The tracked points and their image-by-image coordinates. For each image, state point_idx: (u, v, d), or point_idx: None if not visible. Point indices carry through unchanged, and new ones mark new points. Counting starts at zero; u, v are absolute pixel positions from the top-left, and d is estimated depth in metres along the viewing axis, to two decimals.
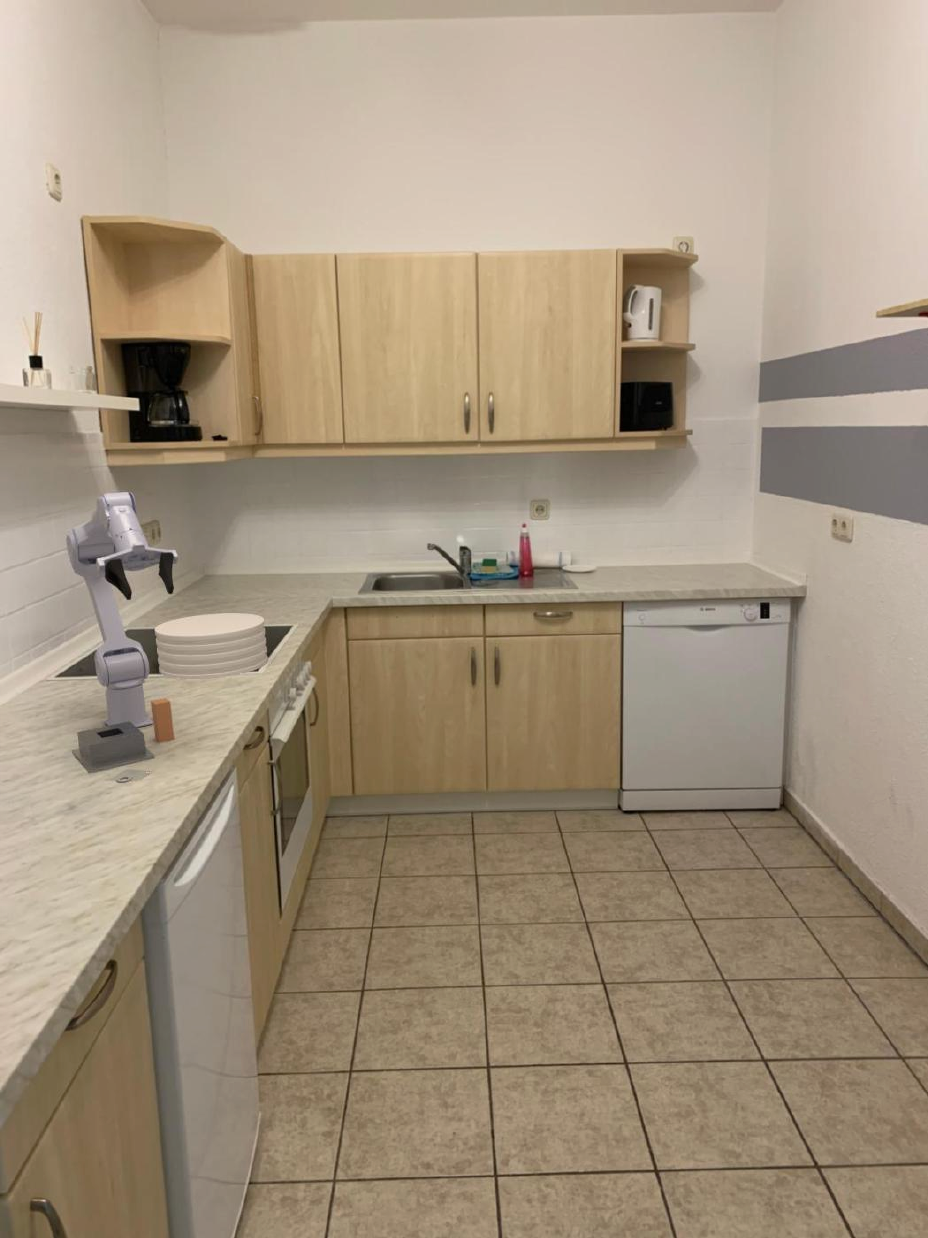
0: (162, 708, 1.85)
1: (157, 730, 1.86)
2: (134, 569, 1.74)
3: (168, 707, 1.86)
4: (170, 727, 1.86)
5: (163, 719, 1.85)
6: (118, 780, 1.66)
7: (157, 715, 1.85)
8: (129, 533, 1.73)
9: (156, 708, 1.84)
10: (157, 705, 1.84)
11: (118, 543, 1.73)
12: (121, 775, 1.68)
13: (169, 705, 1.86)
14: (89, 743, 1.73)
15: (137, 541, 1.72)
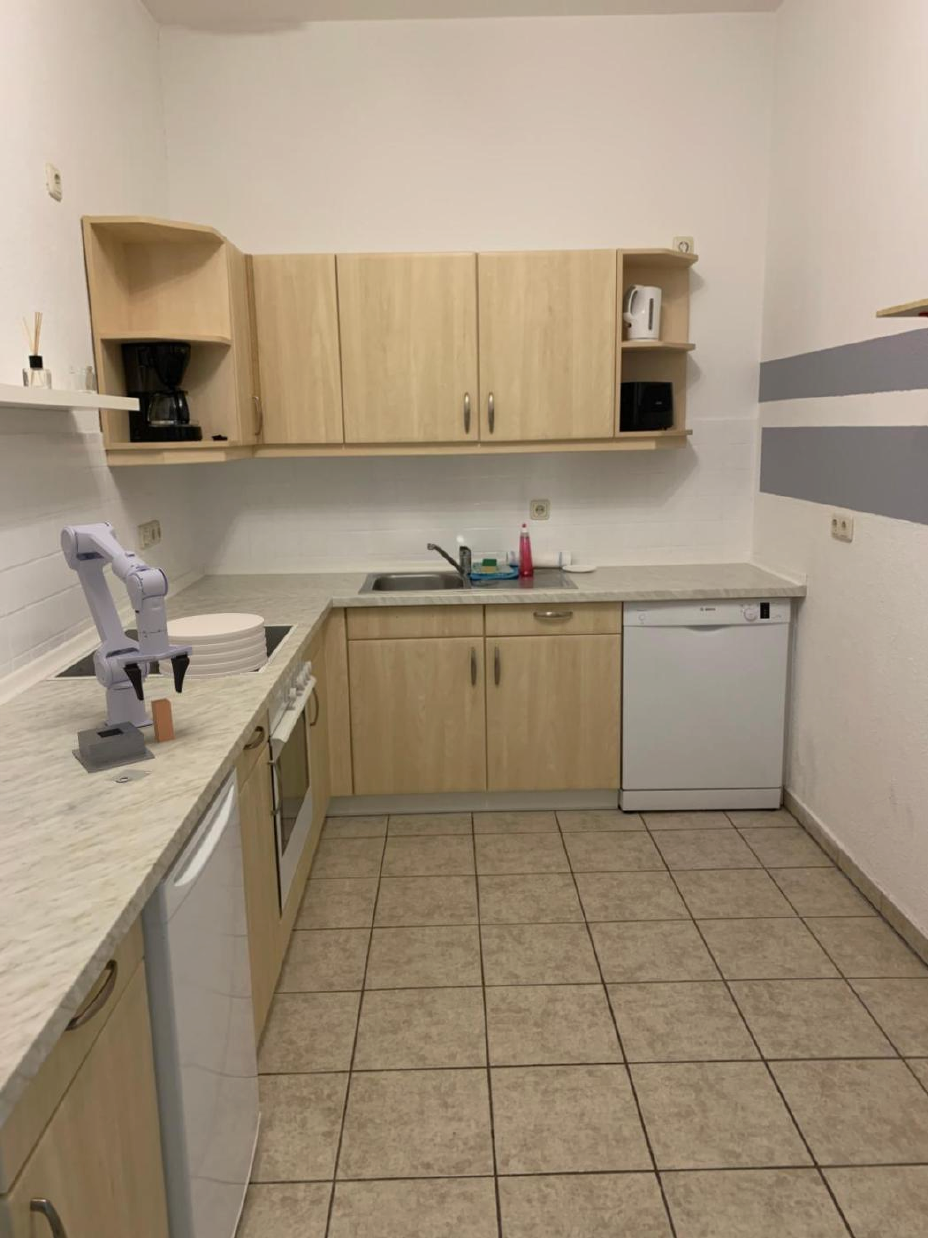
0: (162, 708, 1.85)
1: (157, 730, 1.86)
2: None
3: (168, 707, 1.86)
4: (170, 727, 1.86)
5: (163, 719, 1.85)
6: (118, 780, 1.66)
7: (157, 715, 1.85)
8: (154, 636, 1.81)
9: (156, 708, 1.84)
10: (157, 705, 1.84)
11: (141, 640, 1.81)
12: (121, 775, 1.68)
13: (169, 705, 1.86)
14: (89, 743, 1.73)
15: (160, 646, 1.81)
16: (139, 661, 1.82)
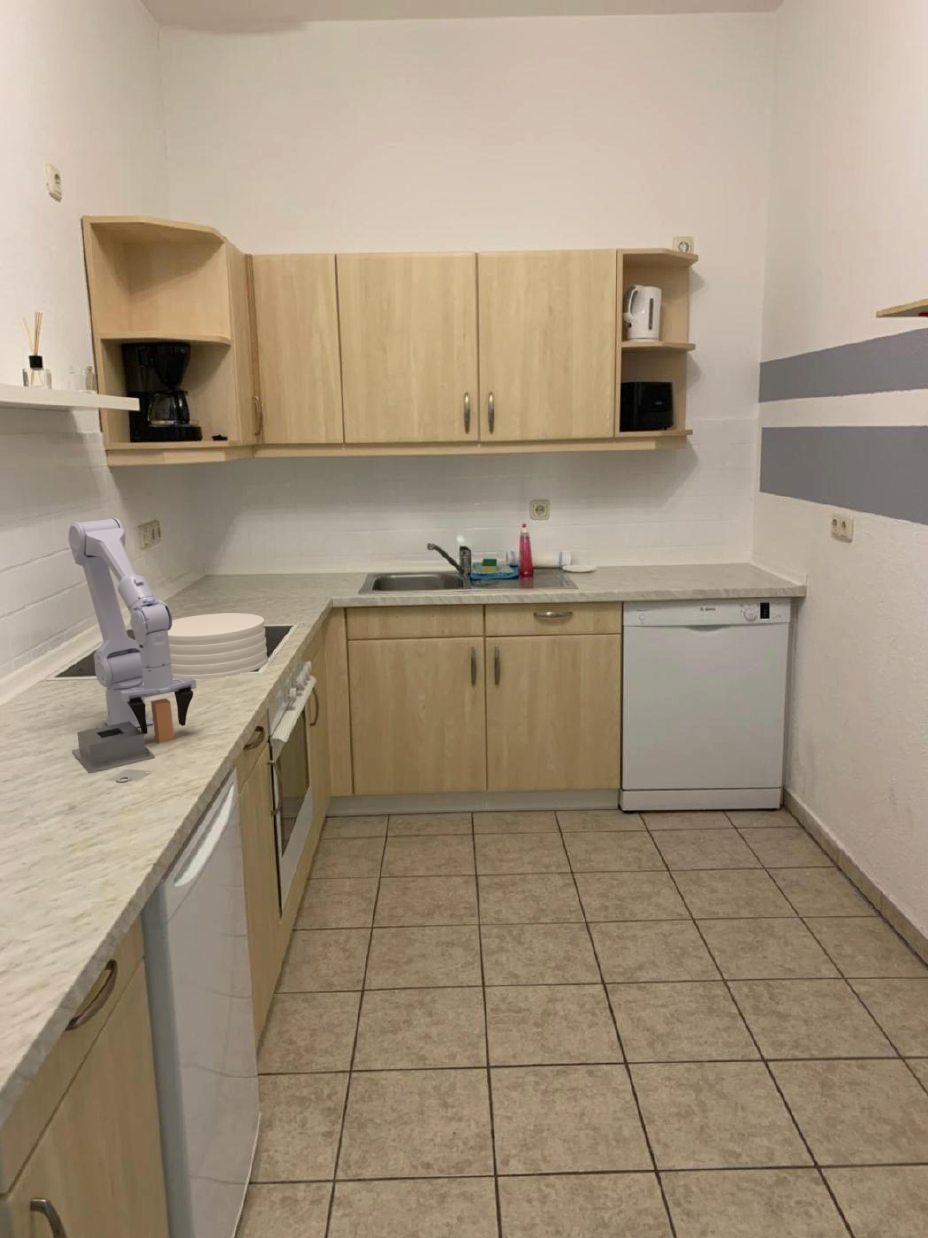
0: (162, 708, 1.85)
1: (157, 730, 1.86)
2: None
3: (168, 707, 1.86)
4: (170, 727, 1.86)
5: (163, 719, 1.85)
6: (118, 780, 1.66)
7: (157, 715, 1.85)
8: (158, 670, 1.82)
9: (156, 708, 1.84)
10: (157, 705, 1.84)
11: (145, 674, 1.82)
12: (120, 775, 1.68)
13: (169, 705, 1.86)
14: (89, 743, 1.73)
15: (164, 680, 1.83)
16: (143, 695, 1.84)
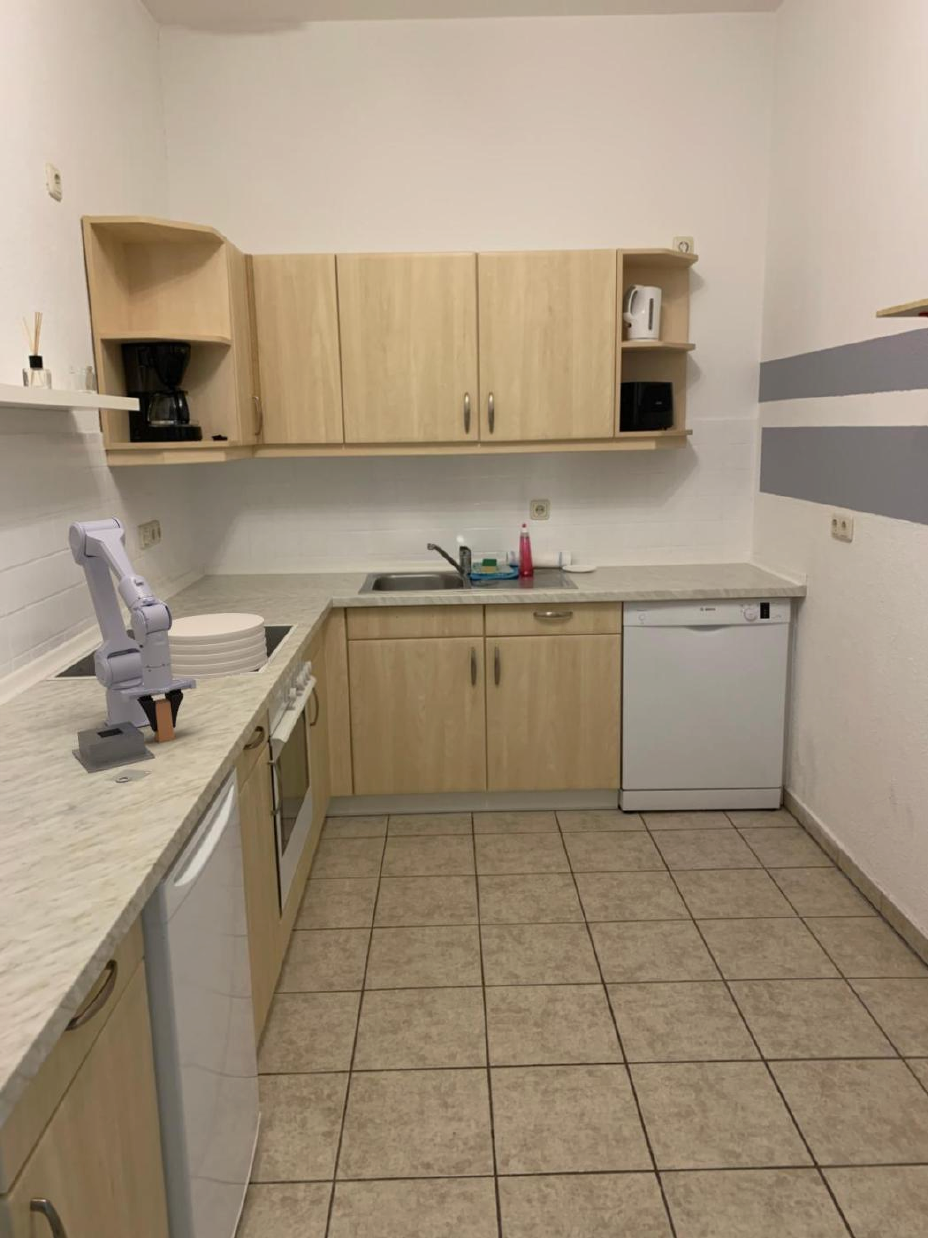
0: (162, 708, 1.85)
1: None
2: None
3: (168, 707, 1.86)
4: (170, 727, 1.86)
5: (163, 719, 1.85)
6: (118, 780, 1.66)
7: (157, 715, 1.85)
8: (158, 670, 1.82)
9: (156, 708, 1.84)
10: (157, 705, 1.84)
11: (145, 674, 1.82)
12: (120, 775, 1.68)
13: (169, 705, 1.86)
14: (89, 743, 1.73)
15: (164, 680, 1.83)
16: (143, 695, 1.84)
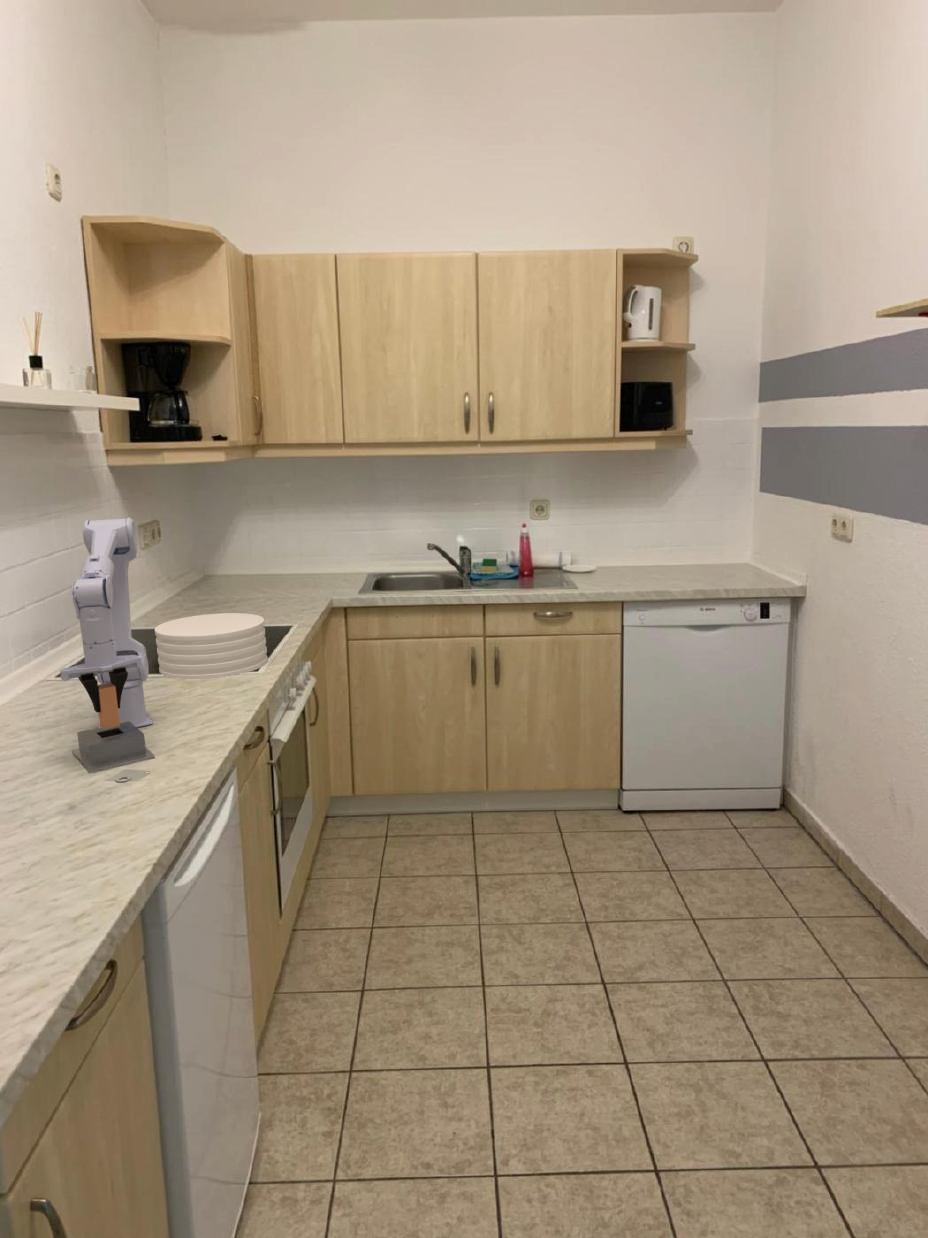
0: (107, 693, 1.75)
1: (101, 716, 1.76)
2: None
3: (113, 692, 1.75)
4: (115, 713, 1.76)
5: (108, 705, 1.75)
6: (117, 780, 1.66)
7: (101, 700, 1.74)
8: (100, 647, 1.72)
9: (100, 693, 1.74)
10: (101, 690, 1.74)
11: (86, 651, 1.72)
12: (120, 775, 1.68)
13: (114, 690, 1.75)
14: (89, 743, 1.73)
15: (106, 658, 1.73)
16: (84, 673, 1.74)
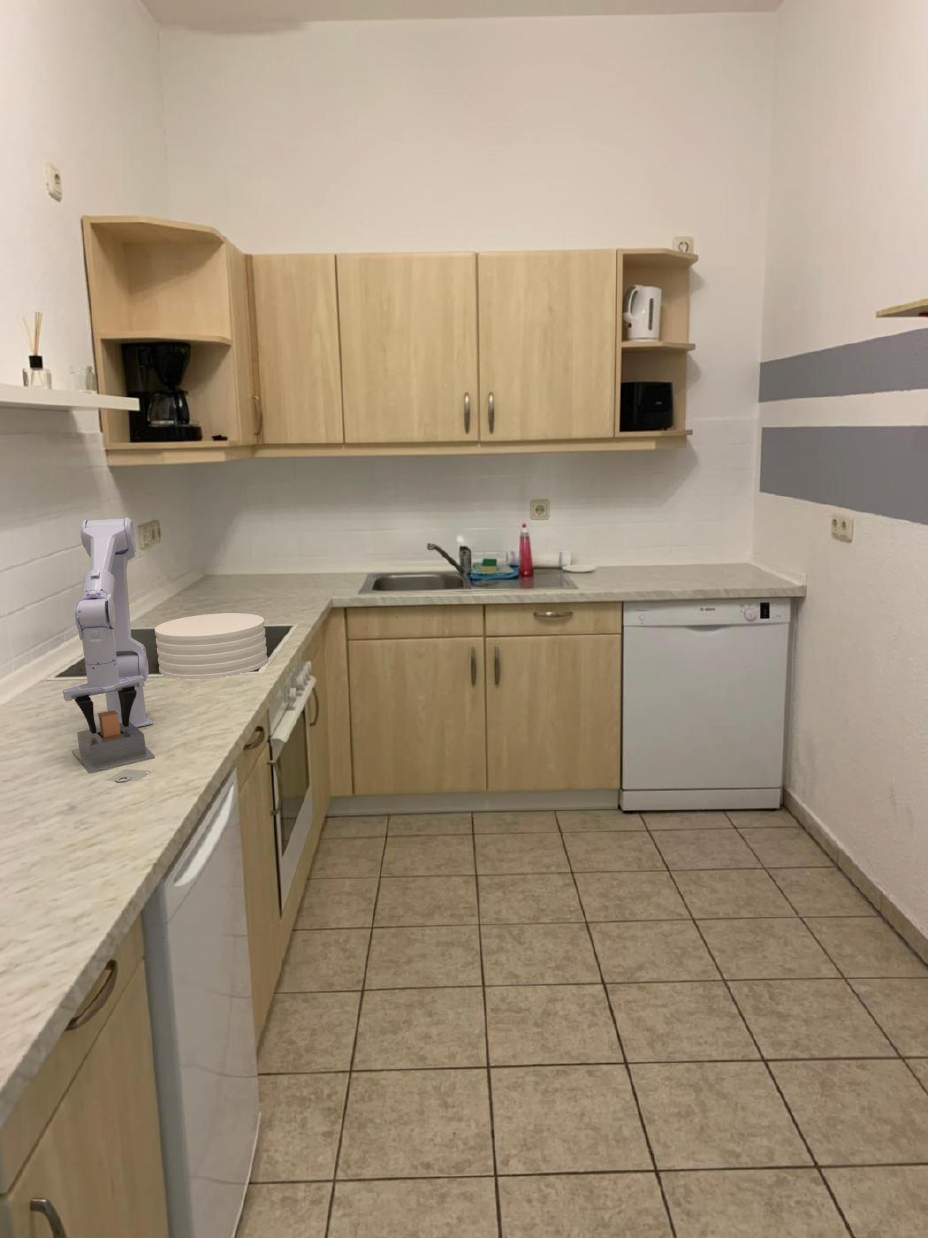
0: (110, 720, 1.76)
1: None
2: None
3: (116, 719, 1.77)
4: None
5: (111, 733, 1.77)
6: (117, 780, 1.66)
7: (104, 728, 1.76)
8: (102, 668, 1.73)
9: (103, 721, 1.75)
10: (104, 717, 1.75)
11: (89, 672, 1.73)
12: (119, 775, 1.68)
13: (117, 717, 1.77)
14: (89, 743, 1.73)
15: (109, 678, 1.74)
16: (87, 693, 1.74)
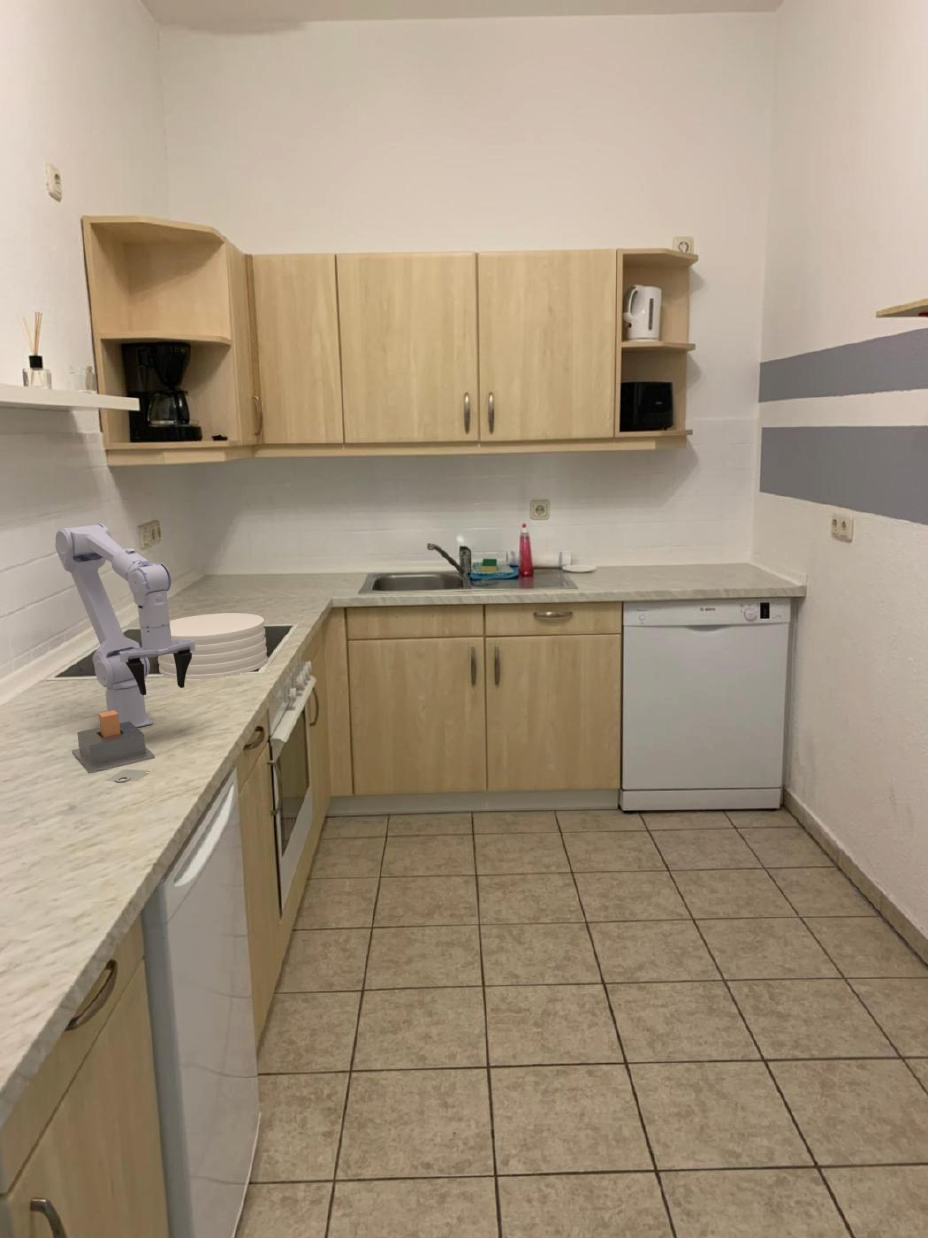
0: (110, 720, 1.76)
1: None
2: None
3: (116, 719, 1.77)
4: None
5: (111, 733, 1.77)
6: (117, 780, 1.66)
7: (104, 728, 1.76)
8: (157, 631, 1.82)
9: (103, 721, 1.75)
10: (104, 717, 1.75)
11: (144, 635, 1.82)
12: (119, 775, 1.68)
13: (117, 717, 1.77)
14: (89, 743, 1.73)
15: (162, 641, 1.83)
16: (142, 656, 1.83)
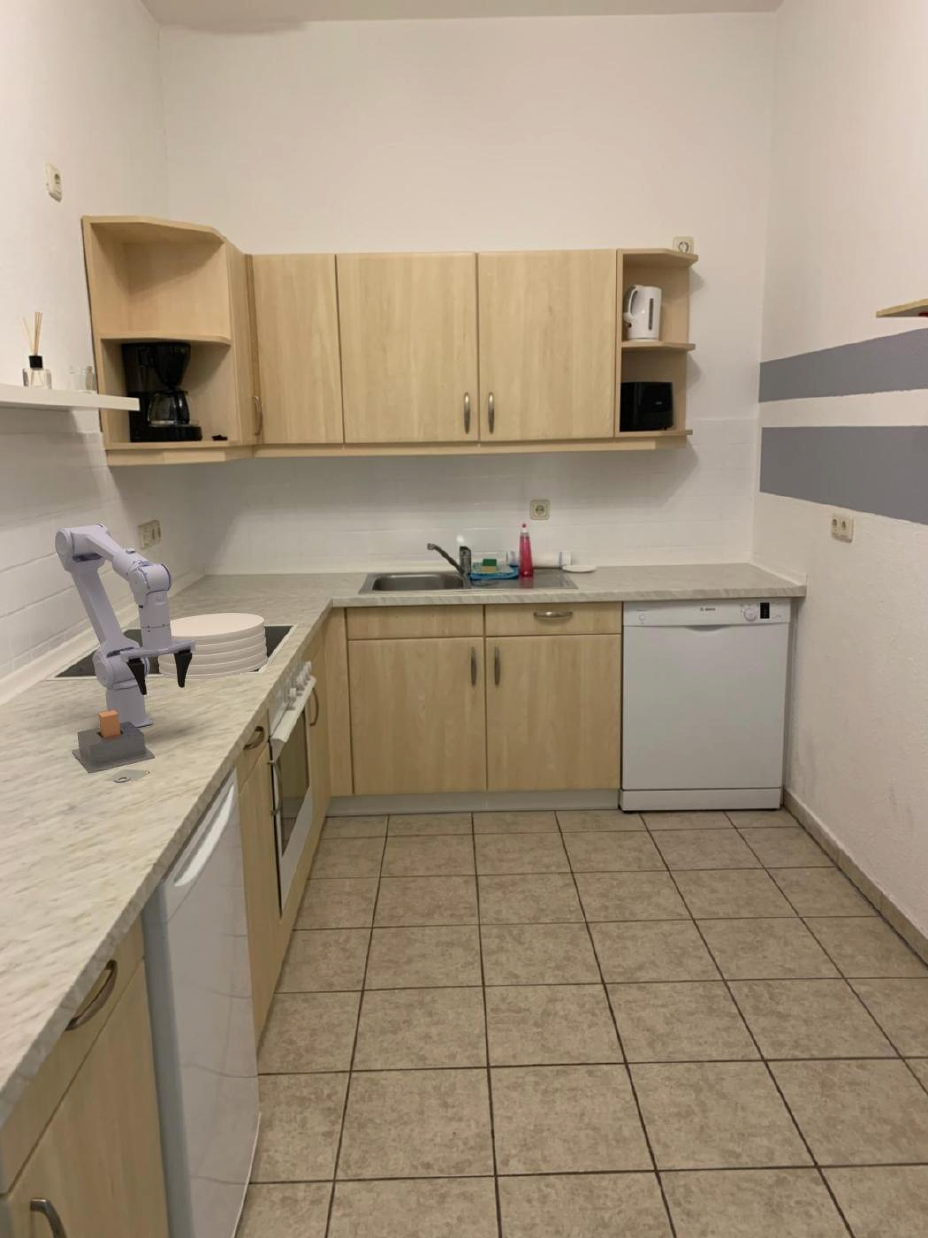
0: (110, 720, 1.76)
1: None
2: None
3: (116, 719, 1.77)
4: None
5: (111, 733, 1.77)
6: (117, 780, 1.66)
7: (104, 728, 1.76)
8: (157, 631, 1.82)
9: (103, 721, 1.75)
10: (104, 717, 1.75)
11: (145, 635, 1.82)
12: (118, 775, 1.68)
13: (117, 717, 1.77)
14: (89, 743, 1.73)
15: (163, 641, 1.83)
16: (142, 656, 1.83)
